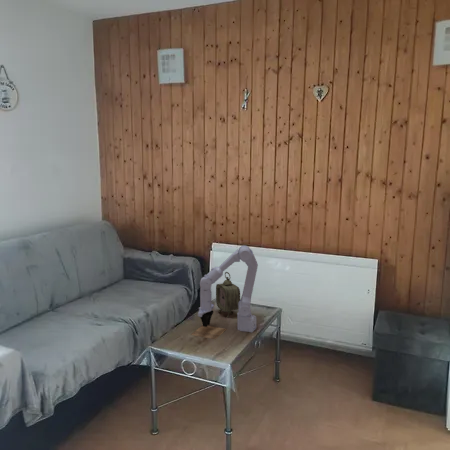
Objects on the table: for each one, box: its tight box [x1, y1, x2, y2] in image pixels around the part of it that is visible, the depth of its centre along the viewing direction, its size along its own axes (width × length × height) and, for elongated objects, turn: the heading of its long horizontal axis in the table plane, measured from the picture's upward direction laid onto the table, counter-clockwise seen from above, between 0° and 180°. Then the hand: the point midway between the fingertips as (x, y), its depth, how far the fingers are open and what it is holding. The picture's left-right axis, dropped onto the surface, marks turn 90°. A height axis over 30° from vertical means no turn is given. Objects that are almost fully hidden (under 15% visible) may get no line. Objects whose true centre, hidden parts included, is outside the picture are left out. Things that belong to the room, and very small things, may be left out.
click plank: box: [195, 324, 228, 336], centre depth 223 cm, size 14×8×1 cm, turn 66°
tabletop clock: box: [215, 271, 241, 319], centre depth 246 cm, size 14×9×25 cm, turn 25°
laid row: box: [190, 330, 221, 340], centre depth 217 cm, size 14×5×1 cm, turn 66°
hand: (206, 325), depth 225 cm, fingers closed
